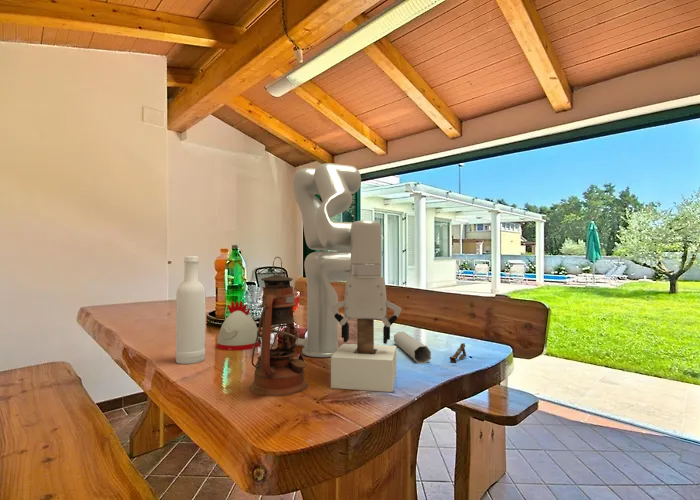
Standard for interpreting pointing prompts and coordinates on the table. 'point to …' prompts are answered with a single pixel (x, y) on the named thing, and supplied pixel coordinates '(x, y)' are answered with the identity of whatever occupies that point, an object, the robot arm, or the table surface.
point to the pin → (365, 336)
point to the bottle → (190, 316)
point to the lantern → (278, 364)
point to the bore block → (364, 368)
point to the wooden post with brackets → (454, 357)
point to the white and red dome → (238, 330)
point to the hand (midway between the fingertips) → (365, 341)
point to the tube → (412, 347)
